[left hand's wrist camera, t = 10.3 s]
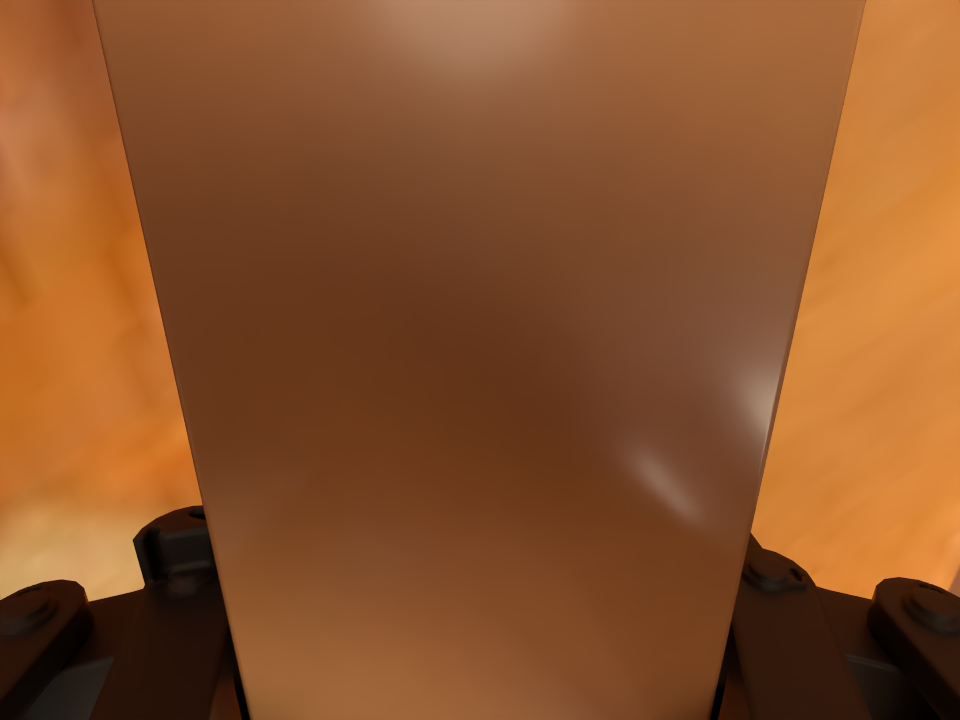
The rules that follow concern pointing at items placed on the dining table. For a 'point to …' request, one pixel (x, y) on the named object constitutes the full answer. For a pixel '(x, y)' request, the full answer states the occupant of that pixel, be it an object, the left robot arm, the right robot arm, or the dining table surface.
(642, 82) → the bar
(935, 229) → the dining table surface
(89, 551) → the dining table surface
